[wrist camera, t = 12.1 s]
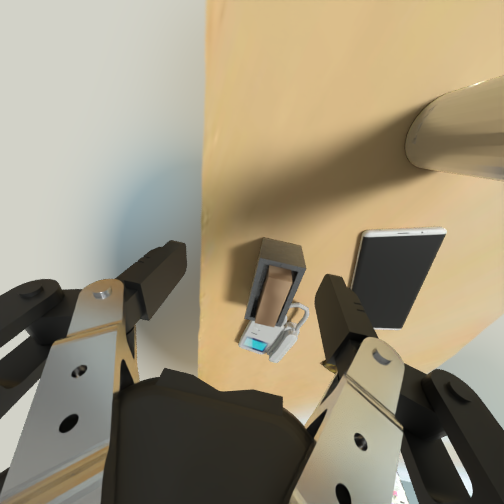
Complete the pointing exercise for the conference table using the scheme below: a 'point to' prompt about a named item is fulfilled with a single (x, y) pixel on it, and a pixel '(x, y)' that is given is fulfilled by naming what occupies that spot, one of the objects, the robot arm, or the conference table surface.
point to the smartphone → (393, 271)
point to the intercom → (272, 336)
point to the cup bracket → (280, 257)
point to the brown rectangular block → (273, 295)
